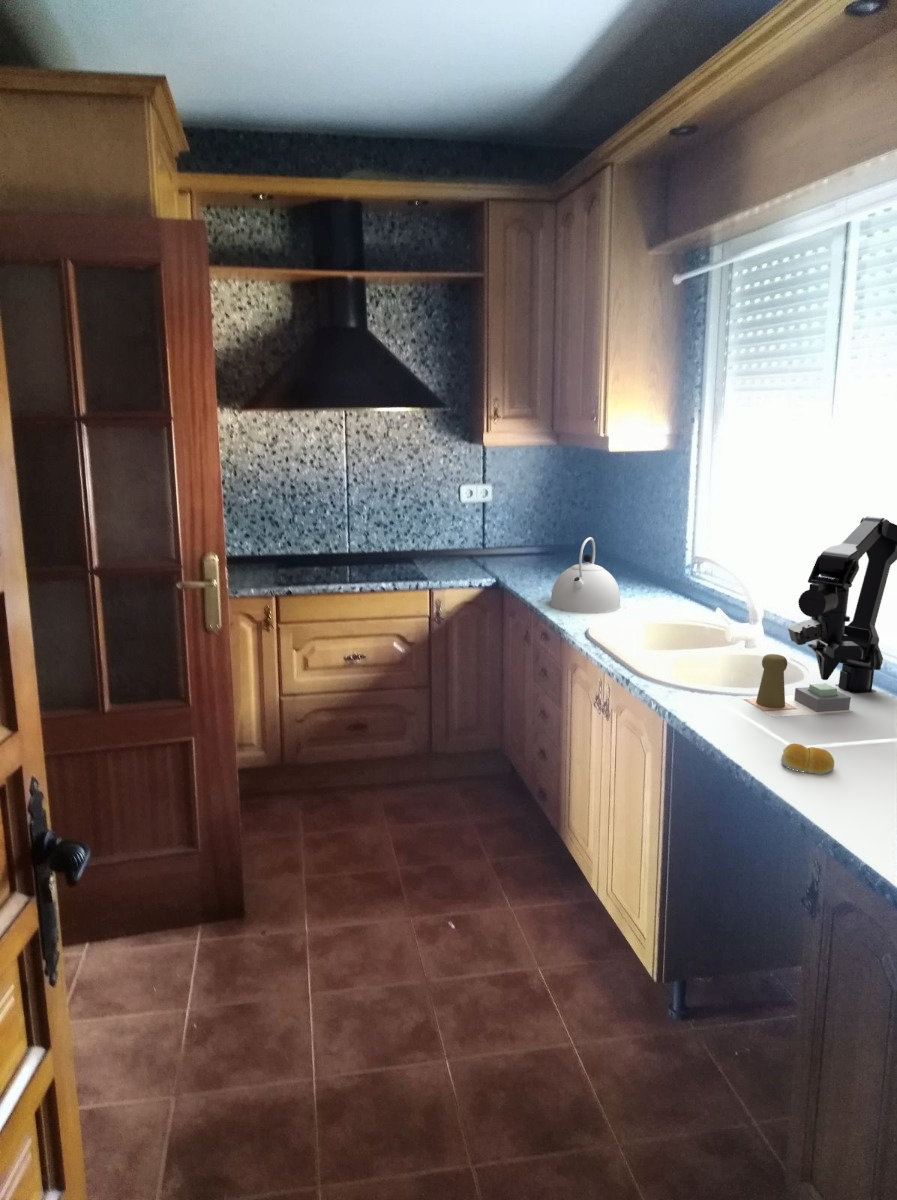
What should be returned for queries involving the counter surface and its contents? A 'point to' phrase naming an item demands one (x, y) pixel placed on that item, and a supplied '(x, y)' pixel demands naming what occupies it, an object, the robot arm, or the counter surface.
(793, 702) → the picture board
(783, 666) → the cork
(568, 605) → the kettle
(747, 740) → the counter surface
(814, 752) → the bread roll
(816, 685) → the button
